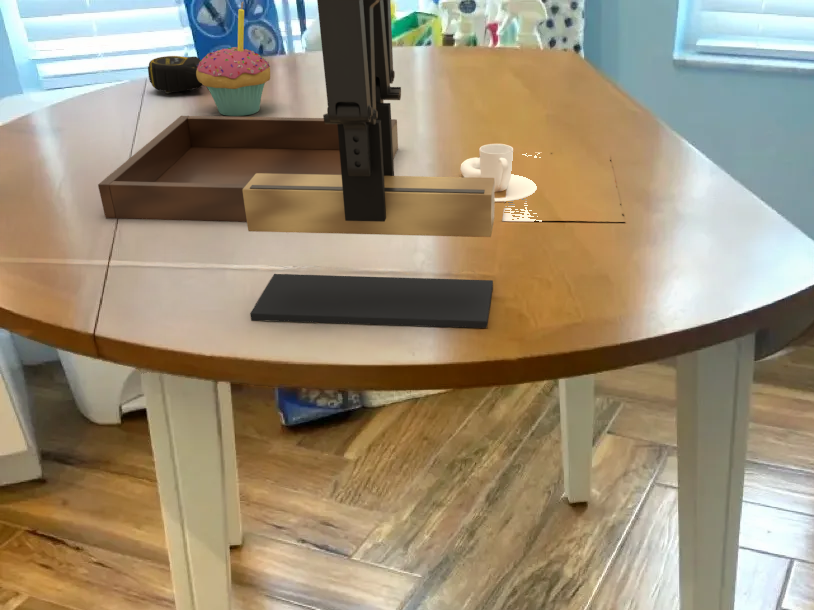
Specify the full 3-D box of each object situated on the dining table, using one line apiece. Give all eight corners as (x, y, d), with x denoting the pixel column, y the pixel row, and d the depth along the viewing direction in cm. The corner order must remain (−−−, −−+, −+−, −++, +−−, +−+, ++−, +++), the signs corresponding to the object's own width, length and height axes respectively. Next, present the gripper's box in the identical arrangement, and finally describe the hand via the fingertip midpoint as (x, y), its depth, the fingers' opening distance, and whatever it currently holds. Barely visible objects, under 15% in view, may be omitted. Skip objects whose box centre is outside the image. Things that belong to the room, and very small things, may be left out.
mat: (250, 320, 69) (249, 313, 68) (274, 280, 75) (273, 273, 74) (487, 328, 68) (487, 320, 67) (493, 287, 73) (493, 279, 73)
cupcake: (274, 100, 119) (262, -6, 112) (275, 119, 112) (262, 7, 105) (203, 104, 118) (187, -3, 111) (200, 123, 111) (182, 10, 104)
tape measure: (205, 95, 121) (200, 64, 119) (149, 98, 120) (143, 67, 118) (207, 83, 127) (202, 53, 125) (153, 85, 126) (148, 55, 124)
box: (106, 223, 85) (97, 184, 83) (186, 148, 103) (180, 115, 101) (362, 230, 83) (360, 190, 81) (398, 153, 101) (397, 119, 99)
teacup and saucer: (455, 175, 95) (455, 133, 93) (536, 176, 95) (537, 134, 92) (449, 206, 88) (449, 161, 85) (537, 207, 87) (538, 162, 85)
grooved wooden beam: (248, 231, 67) (241, 188, 65) (261, 213, 70) (255, 171, 68) (491, 237, 65) (491, 193, 64) (494, 219, 68) (494, 176, 67)
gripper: (388, -201, 47) (408, 256, 60) (427, -201, 60) (437, 171, 73) (237, -199, 47) (290, 253, 60) (310, -199, 61) (340, 170, 74)
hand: (370, 207), depth 67 cm, fingers closed on grooved wooden beam, 3 cm apart
